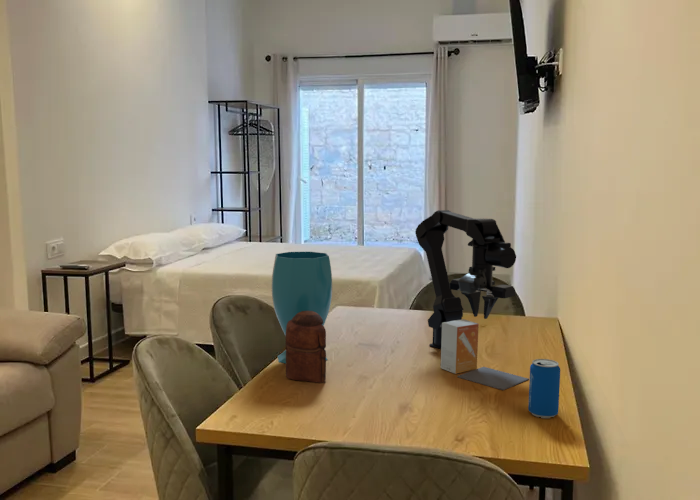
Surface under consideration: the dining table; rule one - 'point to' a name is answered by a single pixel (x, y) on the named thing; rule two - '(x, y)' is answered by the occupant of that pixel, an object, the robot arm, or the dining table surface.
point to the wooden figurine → (306, 348)
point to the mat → (493, 378)
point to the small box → (459, 346)
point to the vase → (301, 286)
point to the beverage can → (544, 388)
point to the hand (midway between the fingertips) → (480, 317)
